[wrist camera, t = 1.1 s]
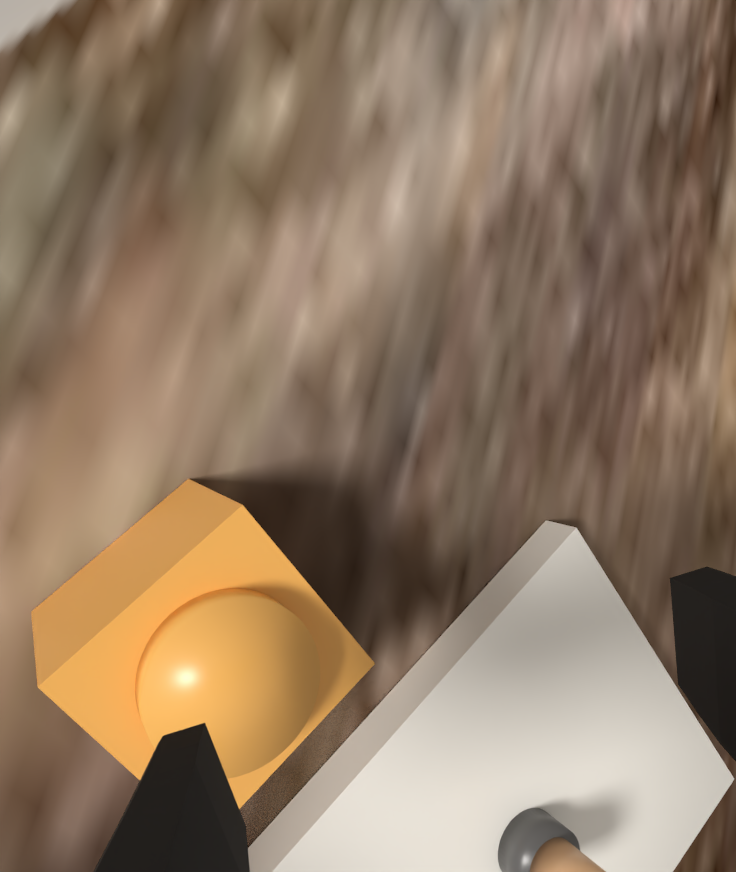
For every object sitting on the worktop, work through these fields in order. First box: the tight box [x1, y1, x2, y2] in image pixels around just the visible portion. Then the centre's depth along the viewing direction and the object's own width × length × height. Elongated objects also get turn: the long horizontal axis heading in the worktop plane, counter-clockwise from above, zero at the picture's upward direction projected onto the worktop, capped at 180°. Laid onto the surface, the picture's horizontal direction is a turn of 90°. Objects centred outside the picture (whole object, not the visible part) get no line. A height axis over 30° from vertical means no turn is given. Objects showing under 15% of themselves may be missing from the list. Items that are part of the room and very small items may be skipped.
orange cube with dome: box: [31, 479, 375, 809], centre depth 16 cm, size 5×5×6 cm
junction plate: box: [248, 520, 734, 872], centre depth 22 cm, size 16×14×5 cm
